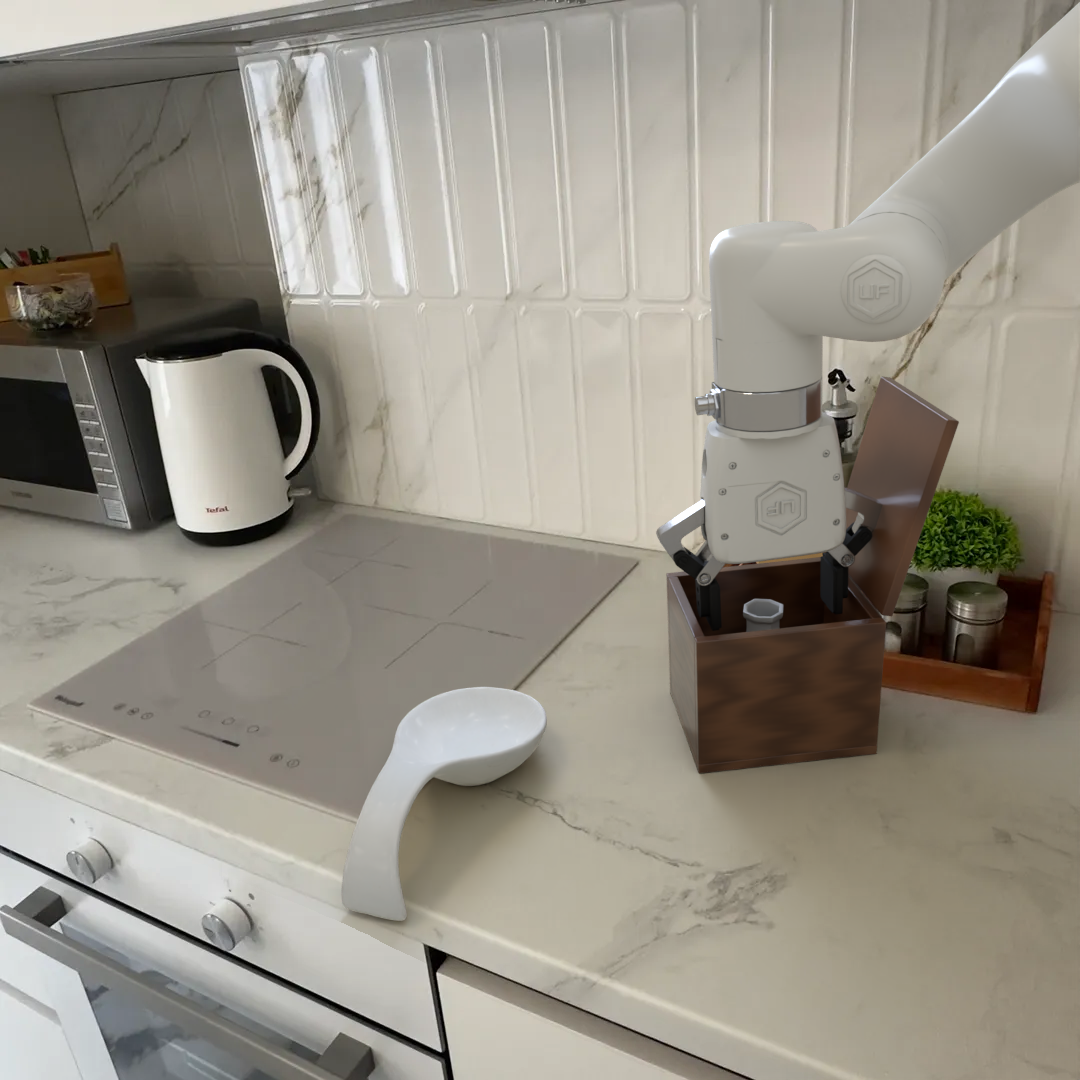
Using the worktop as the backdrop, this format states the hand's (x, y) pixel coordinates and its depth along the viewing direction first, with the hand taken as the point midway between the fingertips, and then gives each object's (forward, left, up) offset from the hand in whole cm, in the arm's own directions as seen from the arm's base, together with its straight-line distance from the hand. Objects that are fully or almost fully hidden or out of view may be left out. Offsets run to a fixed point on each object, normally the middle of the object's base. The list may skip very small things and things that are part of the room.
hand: (772, 614), depth 77 cm
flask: (+1, 0, -10) cm, 10 cm away
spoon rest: (+27, +6, -11) cm, 29 cm away
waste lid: (-8, 0, +9) cm, 12 cm away
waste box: (0, 0, -10) cm, 10 cm away
